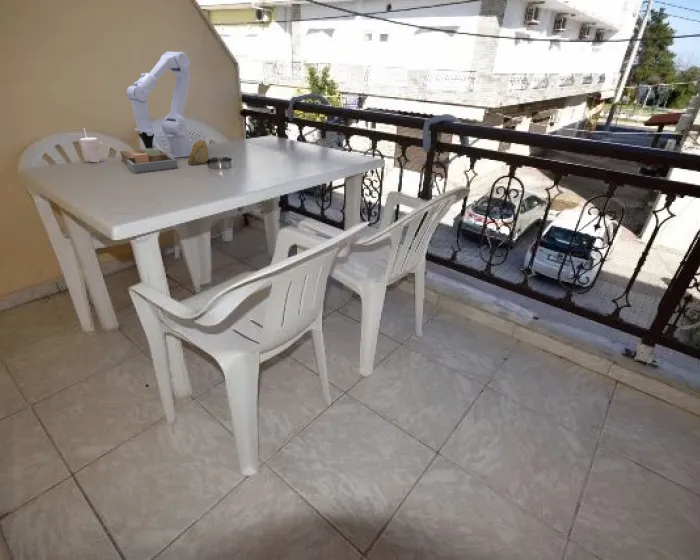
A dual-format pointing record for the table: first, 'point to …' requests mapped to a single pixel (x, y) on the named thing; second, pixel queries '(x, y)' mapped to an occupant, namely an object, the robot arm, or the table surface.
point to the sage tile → (151, 151)
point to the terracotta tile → (141, 158)
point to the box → (153, 165)
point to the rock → (198, 153)
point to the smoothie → (91, 147)
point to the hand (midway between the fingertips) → (149, 150)
